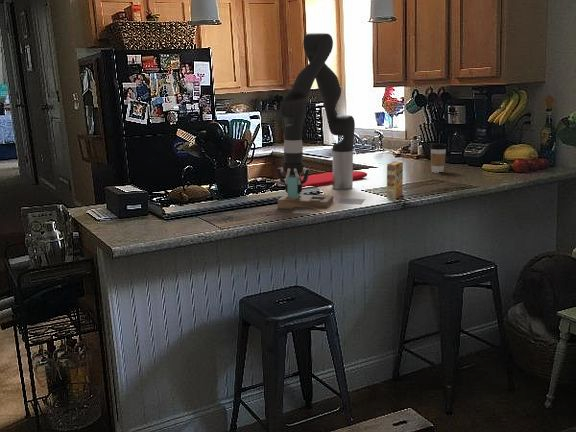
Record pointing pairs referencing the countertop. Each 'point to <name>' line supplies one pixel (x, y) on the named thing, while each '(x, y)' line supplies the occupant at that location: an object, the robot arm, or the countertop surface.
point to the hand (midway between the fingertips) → (293, 192)
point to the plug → (292, 187)
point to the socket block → (305, 201)
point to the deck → (350, 201)
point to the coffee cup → (438, 157)
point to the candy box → (394, 179)
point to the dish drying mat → (328, 178)
